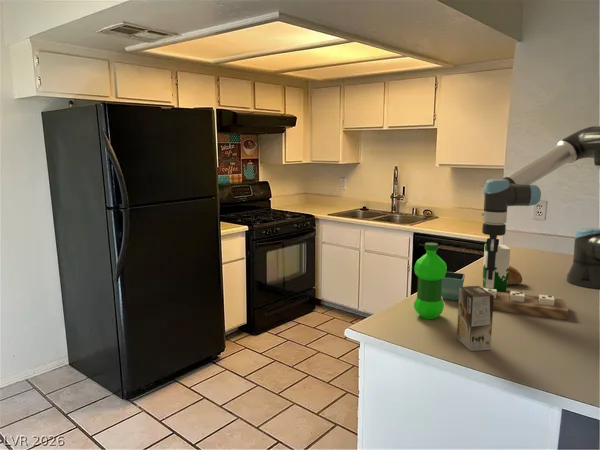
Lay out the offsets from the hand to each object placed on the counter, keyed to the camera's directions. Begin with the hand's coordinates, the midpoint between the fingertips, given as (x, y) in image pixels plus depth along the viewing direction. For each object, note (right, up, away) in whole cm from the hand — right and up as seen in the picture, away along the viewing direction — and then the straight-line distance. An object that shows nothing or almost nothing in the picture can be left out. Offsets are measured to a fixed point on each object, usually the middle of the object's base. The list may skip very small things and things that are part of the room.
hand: (489, 287), depth 157 cm
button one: (0, -5, +1) cm, 5 cm away
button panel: (+8, -7, -3) cm, 11 cm away
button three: (+8, -5, -3) cm, 10 cm away
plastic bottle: (-25, -8, -10) cm, 28 cm away
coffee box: (-19, -12, -31) cm, 38 cm away
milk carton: (+9, -4, +16) cm, 19 cm away
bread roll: (+16, -2, +26) cm, 30 cm away
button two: (+16, -6, -7) cm, 19 cm away
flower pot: (-11, -5, +8) cm, 15 cm away
